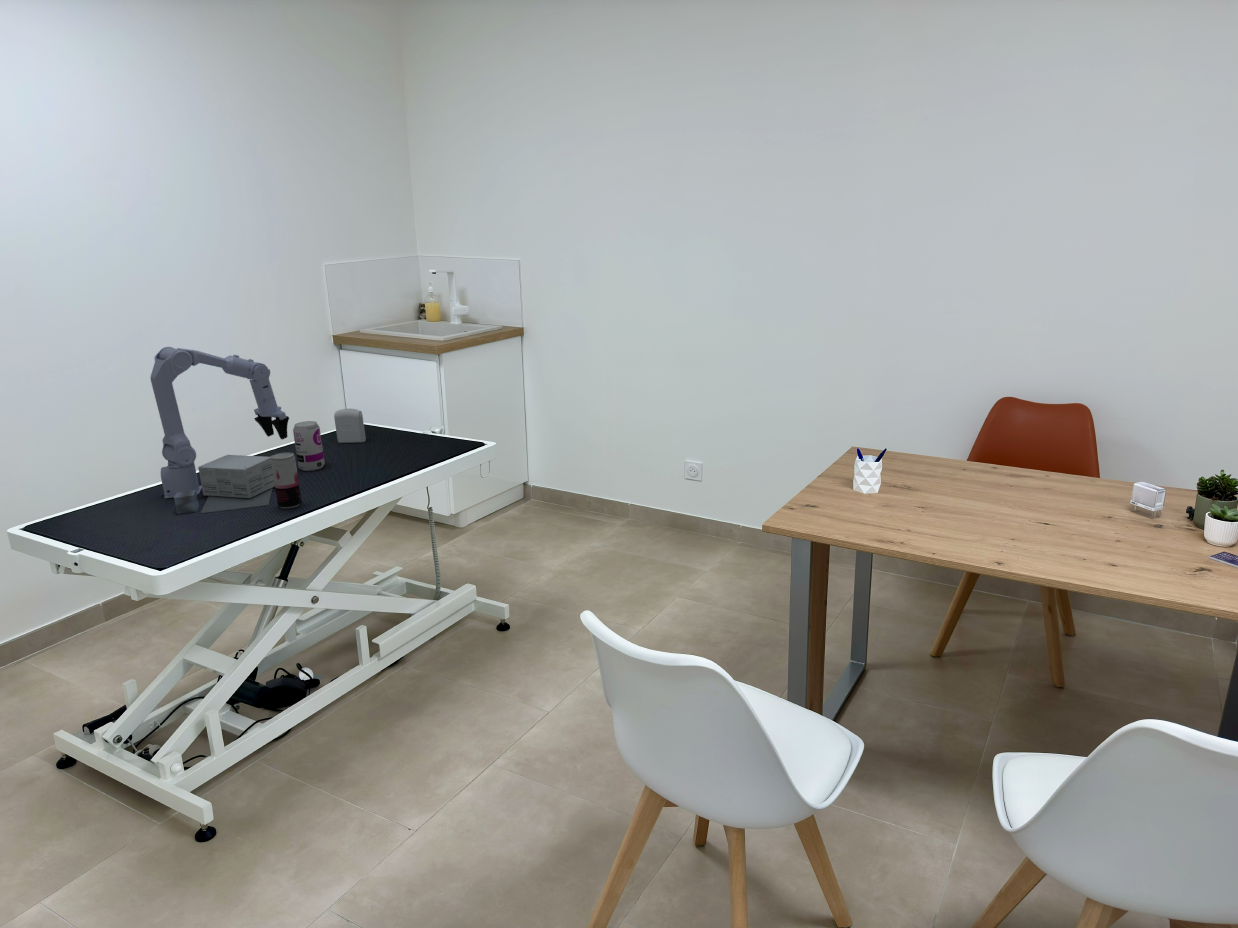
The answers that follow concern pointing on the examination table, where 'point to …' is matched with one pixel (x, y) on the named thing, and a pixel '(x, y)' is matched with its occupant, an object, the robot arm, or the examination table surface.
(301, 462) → the supplement can
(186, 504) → the slate cube
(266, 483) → the supplement box
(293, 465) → the beverage can
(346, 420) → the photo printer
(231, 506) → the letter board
